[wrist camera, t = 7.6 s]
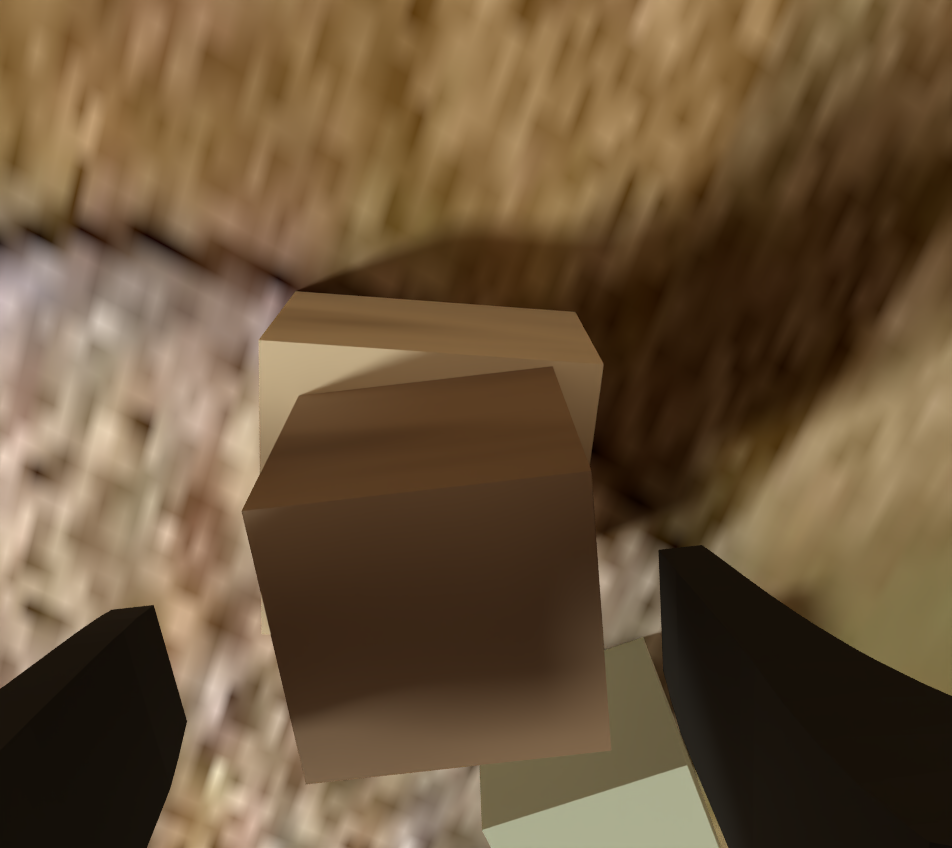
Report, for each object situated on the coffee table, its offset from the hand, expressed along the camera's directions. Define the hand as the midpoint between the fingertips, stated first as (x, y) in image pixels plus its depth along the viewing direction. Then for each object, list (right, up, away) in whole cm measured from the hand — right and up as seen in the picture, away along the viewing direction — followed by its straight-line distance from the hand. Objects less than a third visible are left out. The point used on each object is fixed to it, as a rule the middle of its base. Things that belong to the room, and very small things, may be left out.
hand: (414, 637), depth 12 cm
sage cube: (+4, -5, +11) cm, 12 cm away
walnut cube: (0, +2, +4) cm, 4 cm away
